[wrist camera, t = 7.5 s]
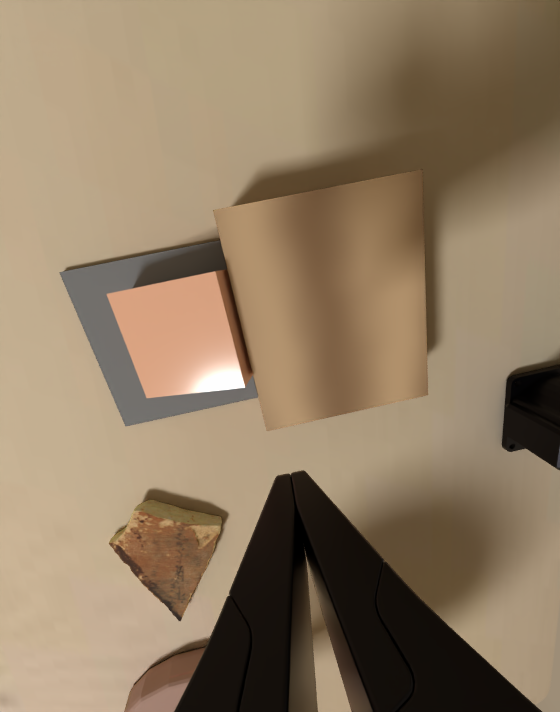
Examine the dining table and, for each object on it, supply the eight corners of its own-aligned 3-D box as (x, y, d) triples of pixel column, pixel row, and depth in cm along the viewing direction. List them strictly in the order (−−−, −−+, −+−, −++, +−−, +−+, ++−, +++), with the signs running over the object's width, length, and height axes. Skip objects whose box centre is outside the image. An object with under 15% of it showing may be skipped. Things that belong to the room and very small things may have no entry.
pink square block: (229, 268, 15) (215, 271, 13) (254, 372, 16) (245, 387, 15) (132, 289, 16) (106, 294, 14) (165, 383, 18) (146, 398, 16)
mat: (220, 240, 16) (219, 240, 16) (257, 395, 19) (257, 397, 19) (62, 272, 16) (59, 272, 15) (127, 424, 19) (125, 426, 18)
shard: (184, 601, 25) (179, 626, 23) (96, 585, 23) (84, 610, 22) (227, 512, 22) (225, 532, 21) (131, 487, 21) (120, 506, 19)
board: (391, 186, 16) (422, 169, 13) (402, 376, 20) (428, 395, 17) (220, 220, 16) (213, 210, 13) (264, 407, 19) (266, 431, 16)
